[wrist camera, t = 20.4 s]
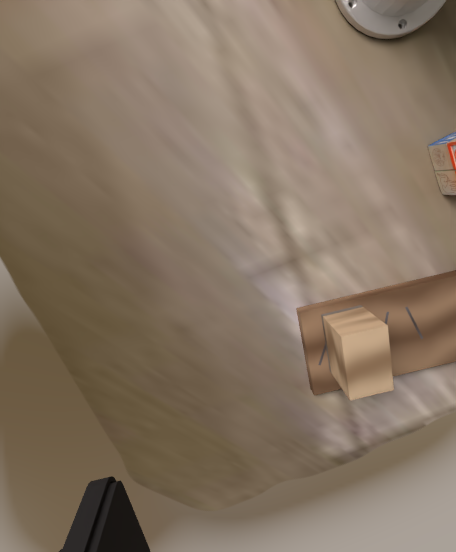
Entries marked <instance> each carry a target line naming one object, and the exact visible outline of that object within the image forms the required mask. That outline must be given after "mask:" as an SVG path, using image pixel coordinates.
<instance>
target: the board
mask: <svg viewBox="0 0 456 552" xmlns="http://www.w3.org/2000/svg"><path fill="white" fill-rule="evenodd" d="M359 305H361V306H363V307H364V308H365V309H367V310H368V311H369V312H371V313H372V314H373V315H375V316H376V317H377V318H379V319H380V320H381V321H382V322H384V323H385V324H386V325H388V333H389V344H390V354H391V365H392V376H397V375H401V374H405V373H410V372H414V371H418V370H422V369H426V368H430V367H435V366H439V365H443V364H447V363H451V362H456V270H455V271H451V272H447V273H443V274H439V275H434V276H430V277H426V278H422V279H418V280H413V281H409V282H405V283H401V284H396V285H392V286H388V287H384V288H380V289H375V290H371V291H367V292H363V293H359V294H354V295H350V296H346V297H342V298H338V299H333V300H329V301H325V302H321V303H317V304H312V305H308V306H304V307H300V308H296V309H297V315H298V320H299V326H300V331H301V337H302V343H303V348H304V354H305V360H306V365H307V371H308V377H309V382H310V388H311V390H312V392H313V394H314V395H318V394H322V393H326V392H330V391H334V390H339V389H342V388H341V387H340V385H339V384H338V382H337V381H336V379H335V378H334V376H333V375H332V373H331V372H330V369H329V363H328V356H327V350H326V343H325V337H324V330H323V324H322V318H321V314H326V313H330V312H334V311H338V310H342V309H347V308H351V307H355V306H359Z"/></svg>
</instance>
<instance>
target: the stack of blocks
mask: <svg viewBox="0 0 456 552" xmlns="http://www.w3.org/2000/svg"><path fill="white" fill-rule="evenodd" d="M428 150H429V153H430V157H431V160H432V163H433V166H434V169H435V174H436V177H437V181H438V184H439V187H440V190H441V193H442V194H443V195H456V131H455V132H453V133H452V134H450V135H448V136H446V137H444V138H442V139H440V140H438V141H436V142H434V143H432V144H430V145H429V146H428Z"/></svg>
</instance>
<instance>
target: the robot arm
mask: <svg viewBox="0 0 456 552" xmlns="http://www.w3.org/2000/svg"><path fill="white" fill-rule="evenodd" d="M445 2H446V0H336V3H337V5H338V7H339V9H340V11H341V12H342V14H343V15H344V16H345V18H346V19H347V21H348V22H349V23H350V24H352V25H353V26H354V27H355V28H356V29H357V30H359V31H361V32H362V33H364V34H366V35H368V36H372V37H375V38H381V39H392V38H397V37H402V36H404V35H407V34H409V33H412V32H413V31H415V30H416V29H418V28H419V27H421V26H422V25H424V24H425V23H426V22H427V21H429V20H430V19H431V18H432V17H434V15H435V14H436V13H437V12H438V11H439V10H440V9H441V8H442V6H443V5H444V3H445ZM349 5H350V6H351V8H350V7H349ZM59 552H150V549H149V547H148V544H147V542H146V540H145V537H144V534H143V532H142V530H141V527H140V525H139V522H138V520H137V517H136V515H135V512H134V510H133V508H132V505H131V503H130V500H129V498H128V495H127V493H126V491H125V488H124V486H123V484H122V482H121V481H117V482H116V480H115V478H114V477H108V478H103V479H100V480H95V481H91V482H90V483H89V484H88V486H87V488H86V491H85V493H84V496H83V498H82V501H81V503H80V506H79V508H78V511H77V513H76V516H75V519H74V521H73V524H72V526H71V529H70V531H69V534H68V536H67V539H66V542H65V544H64V547H63V549H61V550H60V551H59Z"/></svg>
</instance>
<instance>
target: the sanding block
mask: <svg viewBox="0 0 456 552" xmlns="http://www.w3.org/2000/svg"><path fill="white" fill-rule="evenodd" d="M321 318H322V324H323V330H324V337H325V343H326V350H327V356H328V363H329V369H330V372H331V373H332V375H333V376H334V378H335V379H336V381H337V382H338V384H339V385H340V387H341V388H342V389H343V391H344V392H345V394H346V395H347V397H348V398H349V400H354V399H358V398H363V397H367V396H371V395H375V394H379V393H383V392H388V391H392V390H394V387H393V376H392V365H391V354H390V344H389V333H388V325H386V324H385V323H384V322H382V321H381V320H380V319H379V318H377V317H376V316H375V315H373V314H372V313H371V312H369V311H368V310H367V309H365V308H364V307H363V306H361V305H359V306H355V307H351V308H347V309H342V310H338V311H334V312H330V313H326V314H321Z"/></svg>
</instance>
